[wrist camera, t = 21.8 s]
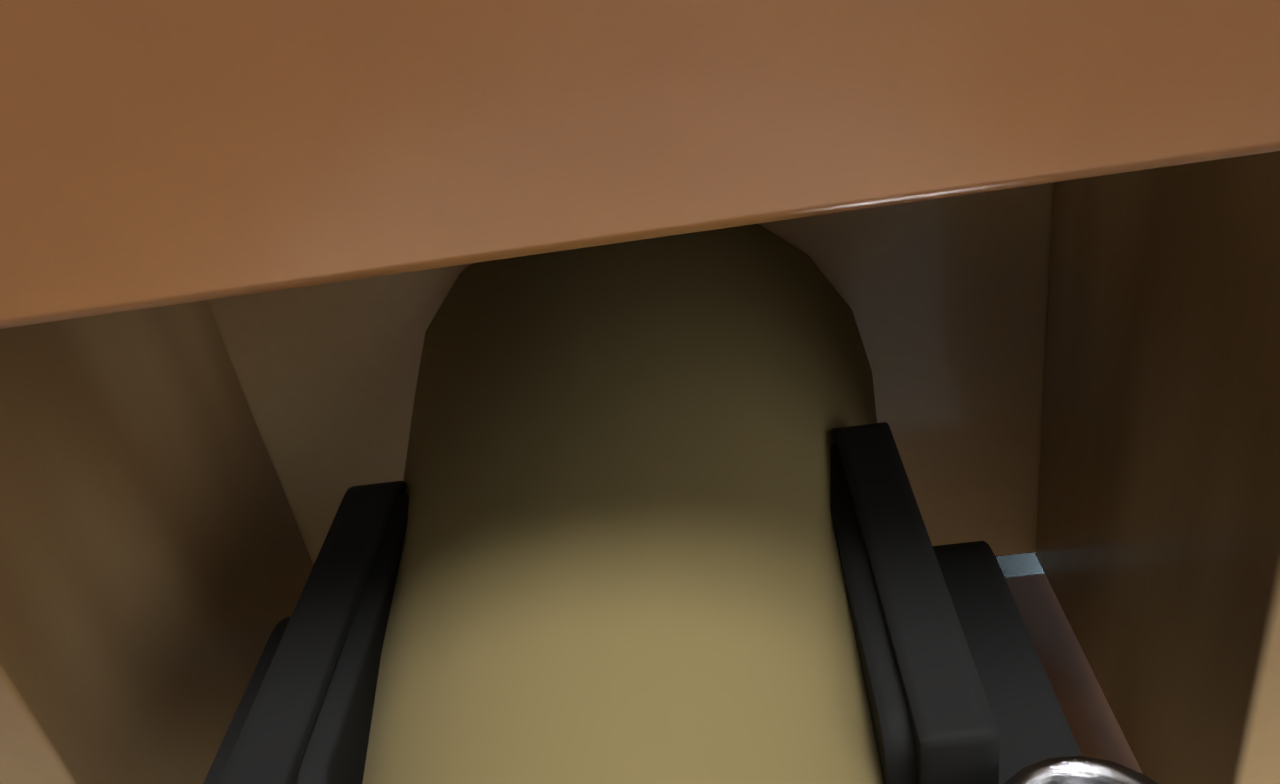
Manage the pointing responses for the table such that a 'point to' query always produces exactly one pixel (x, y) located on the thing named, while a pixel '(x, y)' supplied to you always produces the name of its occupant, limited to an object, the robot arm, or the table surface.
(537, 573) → the wooden game pawn
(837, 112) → the cabinet
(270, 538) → the drawer
